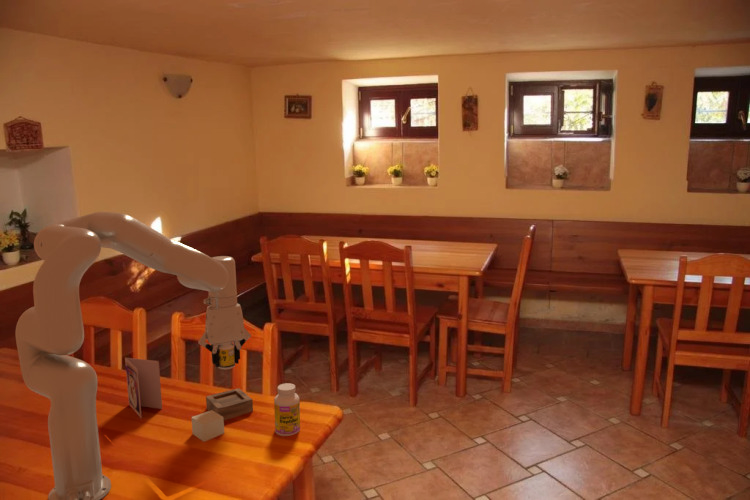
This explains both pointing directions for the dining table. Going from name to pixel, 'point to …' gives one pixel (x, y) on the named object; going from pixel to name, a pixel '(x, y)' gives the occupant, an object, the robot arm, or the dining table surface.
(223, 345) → the supplement bottle
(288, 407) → the supplement bottle
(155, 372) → the greeting card
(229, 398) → the walnut tray
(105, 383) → the dining table surface
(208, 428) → the beige block
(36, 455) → the dining table surface
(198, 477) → the dining table surface
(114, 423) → the dining table surface
